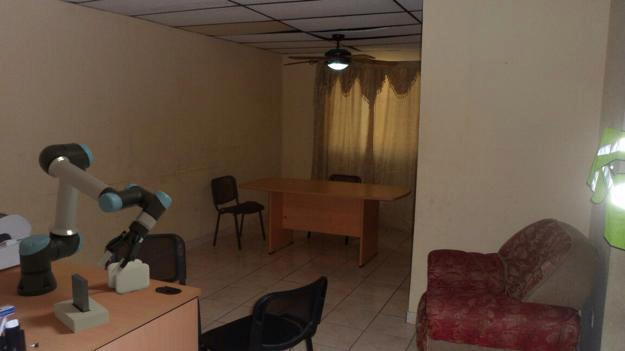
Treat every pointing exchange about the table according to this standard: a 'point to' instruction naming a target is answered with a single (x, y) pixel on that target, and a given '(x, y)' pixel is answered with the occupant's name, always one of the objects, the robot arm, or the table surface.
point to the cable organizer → (129, 277)
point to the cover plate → (80, 293)
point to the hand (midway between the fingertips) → (106, 270)
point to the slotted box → (81, 315)
